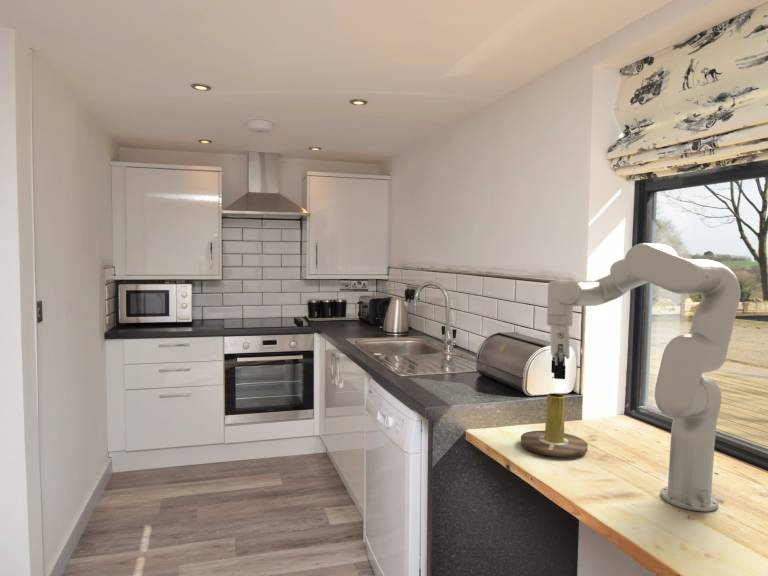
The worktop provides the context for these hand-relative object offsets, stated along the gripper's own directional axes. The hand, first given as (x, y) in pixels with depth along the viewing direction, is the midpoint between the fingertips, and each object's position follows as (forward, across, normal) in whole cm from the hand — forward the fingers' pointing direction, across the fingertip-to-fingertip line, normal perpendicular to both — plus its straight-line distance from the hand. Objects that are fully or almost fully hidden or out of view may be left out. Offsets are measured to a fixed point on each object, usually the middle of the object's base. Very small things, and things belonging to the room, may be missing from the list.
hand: (558, 375), depth 172 cm
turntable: (+22, +2, +1) cm, 22 cm away
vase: (+21, 0, +1) cm, 21 cm away
